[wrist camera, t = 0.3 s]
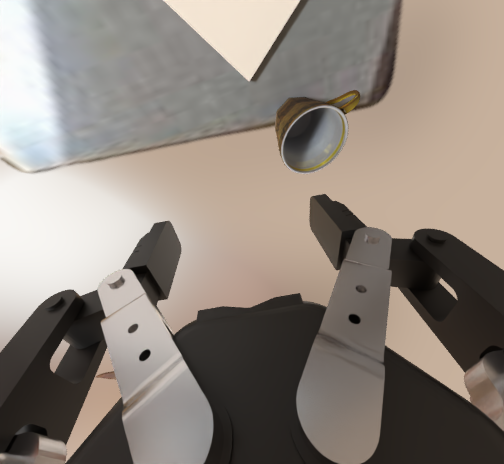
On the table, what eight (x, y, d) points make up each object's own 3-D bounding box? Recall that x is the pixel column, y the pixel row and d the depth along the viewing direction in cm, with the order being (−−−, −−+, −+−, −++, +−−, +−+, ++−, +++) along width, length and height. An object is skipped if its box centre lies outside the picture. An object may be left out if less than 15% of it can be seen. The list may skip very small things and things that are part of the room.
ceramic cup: (287, 155, 41) (304, 184, 34) (253, 120, 35) (267, 147, 28) (345, 101, 35) (378, 124, 29) (317, 47, 29) (352, 61, 22)
